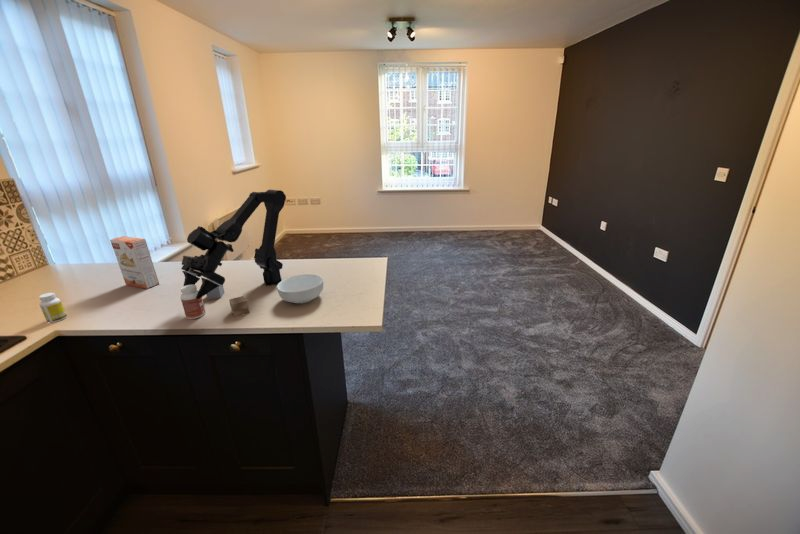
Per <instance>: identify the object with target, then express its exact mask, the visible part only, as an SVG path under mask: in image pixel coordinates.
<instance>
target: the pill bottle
mask: <svg viewBox="0 0 800 534" xmlns="http://www.w3.org/2000/svg"><path fill="white" fill-rule="evenodd" d="M198 291H199V290H198V287H197V285H196V284H195V285H186V286H182V287H181V288H180V292H181V294H180V301H181V304H182V308H183V311H184V315H185V317H186V319H188V320H194V319H199V318H201V317H203V316H205V314H206V309H205V305H204V302H203V301H204V300H203V297H201V298H200V299H197V298H196V296H197V293H198Z"/></svg>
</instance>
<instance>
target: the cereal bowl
mask: <svg viewBox="0 0 800 534" xmlns="http://www.w3.org/2000/svg"><path fill="white" fill-rule="evenodd" d="M276 289H277V292H278V295H279V297H280V298H281V299H282V300H283V301H285V302H289V303H295V304H299V303H300V304H307V303H309V302H311V301H313V299H316V298H317V297H319V296H320V295H321V293H322V292H323V290H324V279H323V277H322V276H320V275H317V274H313V273H304V274H296V275H292V276H289V277H287V278H285V279H282V281H281V282H280V283H279V284H276Z"/></svg>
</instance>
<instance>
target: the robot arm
mask: <svg viewBox="0 0 800 534" xmlns="http://www.w3.org/2000/svg"><path fill="white" fill-rule="evenodd" d="M286 199H287V196H286V194H285V192H284V191H283V190H281V189H280V190H278V189H267V190H265V191H258V192H257V191H252V192H250V193H249V195H248V197H247V198H246V199H245V200H244V202H243V203H242V204H241V205H240V207H239V208H238V209H237V211H235V213H234V214H233V215H232V216H231V217H230V218H229V219H227V220H225V221H223V222H222V223H221V224H220V225H219V226H217V228H216V229H215V230H212V231H208V230H207V229H206V228H205V227H203V226H201V225H198V226H197V227H196V228H194V230H192V231H191V232H189V234H188V235H187V238H186V241H187V243H188V244H190V245H192V246H194V247H196V248H197V249H199V250H201V251H203V252H204V251H206V252H205V254H200V255H195V256H190V255H183V256H182V260H181V265H182V266H181V268H180V270H182V274H183V276H184V282H183V286H186V285H196V284H197V283H198V282H199V281H200V280H201V285H200V287H199V290H197V291H198V293H197V296H196V298H197V299H200V298H201V297H202V298H203V297H205V296H207V295H206V294H207V293H209V292H210V291H212V290H213V289H215V288H216V287H219V286H220V285H223V286H224V284H225V282H226V278H225V277H224V275H223V276H222V275H221V274H219V273H217V272H216V271H217V269H218V267H222V265H223V263H222V262H221V261H222V260H223V259H224V257H225V255H226V254H227V252H231V253H233V252H234V248H233V244H231V243H235V242H237V241H238V239H239V237H240V236H241V234H242V232H243V226H244V225H245V224H246V223H247V221H248V220H249V219H250V217H251V216H252V215H253V213H255V211H256V210H257V209H258V207H259V206H260V204H262V203H264V204H263V205H264V207H265V210H266V214H265V219H264V226H263V233H262V240H261V244H260V247H259V248H255V250H254V257H253V259H254V263H255V264H256V265H257V266H258V267H259V268H260V269H262V270H263V272H262V277H263V281H264V282H263V283H265V286H272V285H278V284H279V283H280V282H281V281H282V280H283V279H282V276H281V270H282V269H283V266H284V265H283V263H282V262H281V261H279V260H278V259H277V256H278V255H277V252H276V249H275V244H276V243H275V242H276V236H277V231H278V230H277V229H278V222H279V216H280V212H281V211H282V209H284V206H285V203H286ZM218 240H219V241H218ZM226 242H227V243H226ZM218 284H220V285H218ZM183 286H182V287H183Z"/></svg>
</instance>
